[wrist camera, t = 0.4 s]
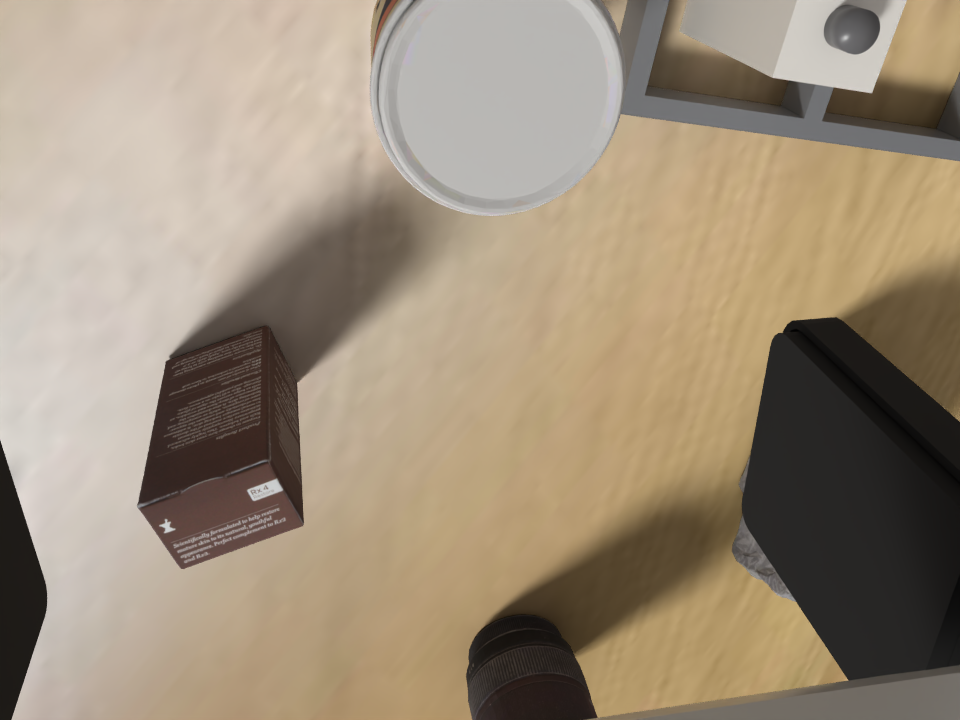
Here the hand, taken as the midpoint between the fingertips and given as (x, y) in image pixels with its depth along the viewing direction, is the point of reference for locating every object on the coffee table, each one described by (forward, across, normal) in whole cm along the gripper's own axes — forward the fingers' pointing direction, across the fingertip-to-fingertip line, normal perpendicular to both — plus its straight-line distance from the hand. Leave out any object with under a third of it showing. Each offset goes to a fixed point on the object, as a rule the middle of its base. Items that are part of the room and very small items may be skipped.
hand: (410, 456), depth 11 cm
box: (+35, +6, +18) cm, 40 cm away
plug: (+34, -20, -1) cm, 40 cm away
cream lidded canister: (+35, -6, +1) cm, 35 cm away
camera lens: (+35, -10, +42) cm, 56 cm away
